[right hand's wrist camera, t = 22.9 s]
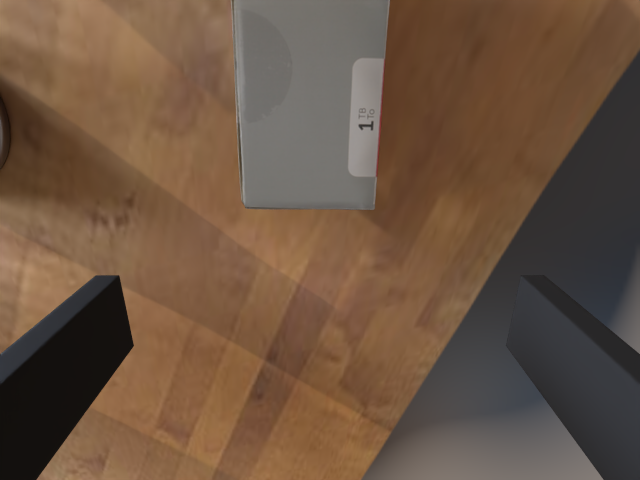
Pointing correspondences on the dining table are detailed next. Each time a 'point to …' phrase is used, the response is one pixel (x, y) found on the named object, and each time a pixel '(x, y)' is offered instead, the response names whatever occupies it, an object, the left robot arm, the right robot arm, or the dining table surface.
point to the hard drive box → (309, 101)
